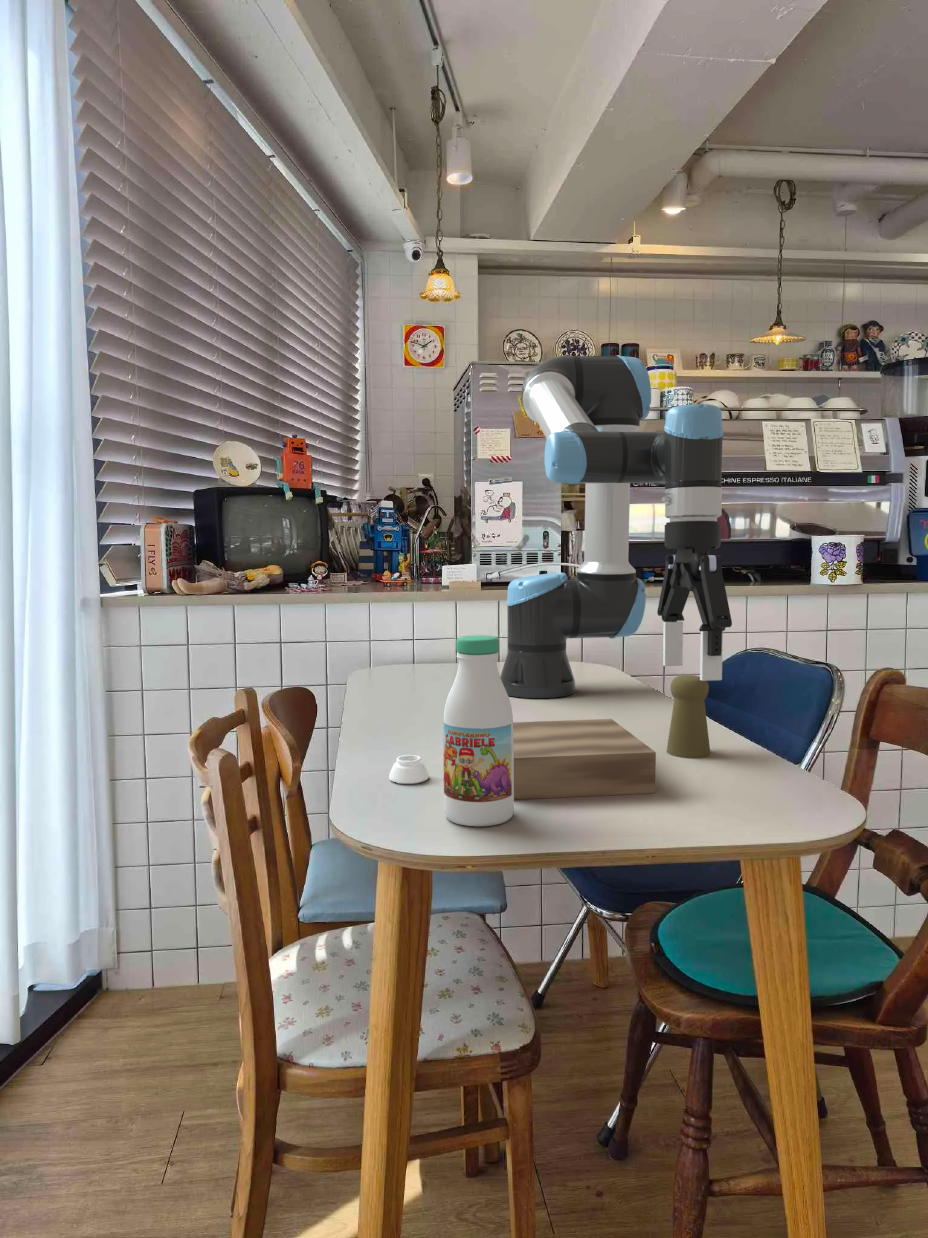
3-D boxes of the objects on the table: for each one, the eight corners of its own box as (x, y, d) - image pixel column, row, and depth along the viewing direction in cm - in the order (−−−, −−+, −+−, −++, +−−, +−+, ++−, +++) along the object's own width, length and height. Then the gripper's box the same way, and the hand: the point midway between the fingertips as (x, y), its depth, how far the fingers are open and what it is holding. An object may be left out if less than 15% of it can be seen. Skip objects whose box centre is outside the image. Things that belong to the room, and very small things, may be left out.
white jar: (389, 775, 106) (389, 787, 101) (389, 753, 105) (388, 764, 100) (427, 774, 106) (429, 785, 101) (427, 752, 106) (428, 762, 101)
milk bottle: (448, 804, 94) (446, 632, 92) (515, 805, 93) (514, 632, 91) (439, 827, 86) (437, 641, 84) (512, 829, 85) (511, 641, 83)
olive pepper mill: (712, 759, 111) (714, 680, 110) (667, 757, 112) (668, 679, 111) (708, 747, 117) (709, 672, 116) (665, 746, 118) (666, 671, 117)
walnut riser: (485, 758, 113) (485, 723, 112) (611, 753, 115) (611, 718, 114) (507, 800, 95) (506, 758, 94) (655, 792, 97) (655, 752, 96)
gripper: (636, 523, 123) (635, 661, 125) (703, 516, 99) (701, 688, 101) (684, 523, 124) (682, 659, 126) (761, 516, 100) (758, 686, 101)
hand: (690, 672), depth 113 cm, fingers open, 13 cm apart
